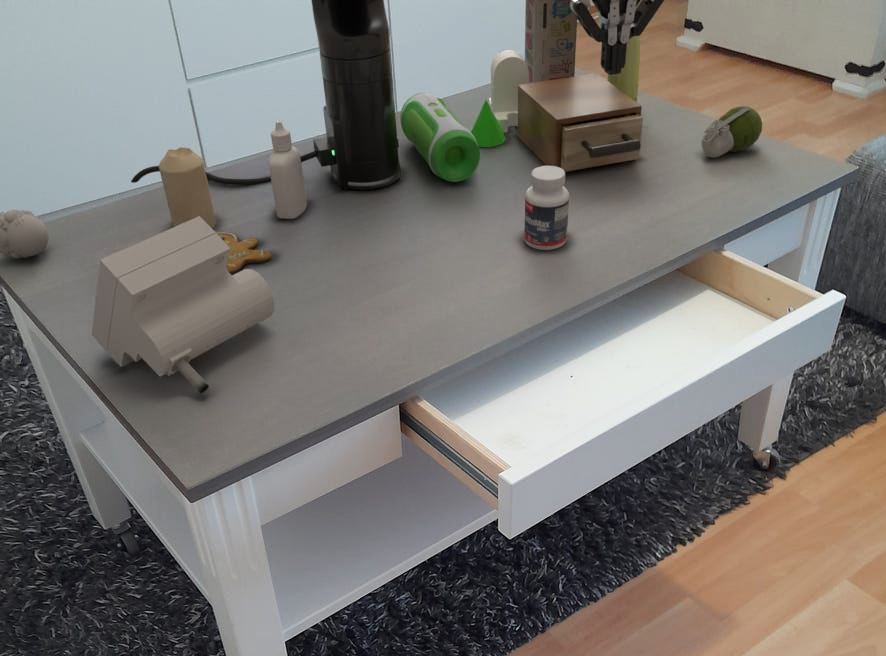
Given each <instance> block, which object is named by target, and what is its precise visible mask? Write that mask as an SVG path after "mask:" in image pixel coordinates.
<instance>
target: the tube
mask: <svg viewBox="0 0 886 656" xmlns="http://www.w3.org/2000/svg"><path fill="white" fill-rule="evenodd" d="M640 3H641V1H640V2H639V4H640ZM639 4H638V5H637V7H638V6H639ZM637 7H636V8H635V10H636V9H637ZM640 59H641V35H639V36H634V37H632V38H630V39H629V40H628V42H627V48H626V61H625V66H624V68H621V73H619V74H613V75H609V74H607V79H606V80H607V81H609V82H610V83H611V84H613V85H614V86H615V87H617V88H618V89H619V90H621V91H622V92H623V93H625V94H626V95H627V96H629V97H630V98H632V99H633V100H634V101H636V102H637V103H638V93H639V80H640V79H639V77H640Z"/></svg>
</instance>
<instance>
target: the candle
mask: <svg viewBox="0 0 886 656" xmlns="http://www.w3.org/2000/svg"><path fill="white" fill-rule="evenodd" d="M158 166H159V170H160V171H159V173H160V174H159V175H160V178H161V181H162V186H163V190H164V194H165V198H166V202H167V206H168V210H169V215H170V218H171V221H172V226H173V227H176V226H178V225H180V224H183V223H185V222H187V221H189V220H192V219H194V218H196V217H198V216H200V217H201V218H202V219H203V220H204V221H205V222H206V223H207V224H208V225H209V226H210V227H211V228H212V229H213V230H214V228H215V227H216V225H217V219H216V214H215V209H214V205H213V199H212V196H211V190H210V186H209V181H208V179H207V176H206V172H207V171H206V168H205V163H204V158H203V157H201V156H200V155H199V154H197V153H196V152H194V151H193V150H192V149H191V148H189V147H179V148H176V149H172V148H171V149H168V150H167V151H166V153H165V155H164V156H163V157H162V159H161V160H160V162H159V163H158Z"/></svg>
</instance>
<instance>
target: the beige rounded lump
mask: <svg viewBox="0 0 886 656" xmlns="http://www.w3.org/2000/svg"><path fill="white" fill-rule="evenodd" d="M40 219H41V218H40V216H39V215H35V214H34V212H32V210H31V211H30V210H27V209H11V210H7V211H1V212H0V254H1V255H3V256H9V255H10V257H12V258H14V259H22V258H24V259H26V258H29V257H31V256H37V255H40V253H42V252H43V251H44V250H45V249H46V248H47V246H48V243H49V232H48V231H49V230H48V229H47V227H46V225H45V224H44V223H43V221H42V220H40Z"/></svg>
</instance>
